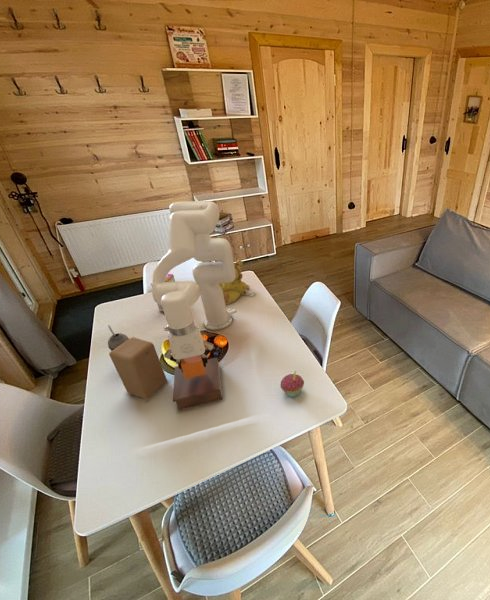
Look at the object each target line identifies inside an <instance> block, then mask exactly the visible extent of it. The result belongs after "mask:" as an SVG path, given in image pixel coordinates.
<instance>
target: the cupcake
mask: <svg viewBox="0 0 490 600" xmlns="http://www.w3.org/2000/svg"><path fill="white" fill-rule="evenodd" d="M279 385H280V388H281V390H282V391H283V392H284V393H285V394H286V395H287V396H289V397H296V396H298V395H299V394H300V393H301V392H300V391H301V390H302V389H303V387H304V385H305V381H304V379H303V377H302V376H301V375H299V374H297V370H294V371H293V373H289V374H288V375H285V376H284V377H283V378H282V379H281V381H280V384H279Z"/></svg>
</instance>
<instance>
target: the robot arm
mask: <svg viewBox="0 0 490 600" xmlns="http://www.w3.org/2000/svg"><path fill="white" fill-rule="evenodd" d="M169 214H170V215H169V218H168V243H167V244H168V246H167V247H168V248H167V249H168V250H167V253H166V254H164V256H163V257H162V258H161V259H160V260H159V261H158V263H157V264H156V266H155V267H154V270H153V272H152V281H151V283H152V285H151V293H152V294H151V295H152V298H153V301H154V302H155V303H156V304H157V303H158V304H160V305H162V308H163V311H164V312H163V313H164V316H165V320H166V322H167V326H164V327H163V329H164V331H165V332H168V343H169V348H168V349H167V350H166V351H165V352H164V354H163V358H165V359H167V360H169V361H172V362H174V363H175V364H177V366H179V369H181V370H182V367H181V359H183V358H188V357H193V356H198V355H201V356H202V361H203V364H204V367H206V363H208V355H209V354H210V353H211V351H212V350H213V349H214V348H215V345H214V343H212V342H209V341H207V340H204V338H203V335H202V333H201V331H200V329H199V327H198V326H197V324H195V321H194V317H193V314H192V310H191V307H192V306H193V305H195V304H196V303H197V301H198V300H199V298H201V299H200V300H201V302H202V306H203V310H204V314H205V319H204V321H203V325H204V327H205V328H206V329H207V330H210V331H219V330H222V329H225V328H227V327H228V326H230V325H231V324H232V321H233V317H232V315H234V314H236V313H237V312H238V310H237V309H236V308H233V309H232V308H228V309H227V304H225V300H224V296H223V291H222V288H221V287H220V285H219V284H218V283H230V282H233V281H234V280H235V277H236V272H235V266H234V263H235V260H234V255H233V251H232V246H231V243H230V242H229V240H227V239H226V238H225V237H224V238H223V237H218V238H217V237H216V238H215V237H213V238H212V237H211V234H213V232H214V231H215V229H216V227H217V224H218V223H219V220H220V209H219V206H218V205H217V203H216V202H214V201H211V200H198V201H197V200H196V201H194V200H193V201H192V200H190V201H189V200H187V201H186V200H185V201H175V202H172V203H171V204H170V205H169ZM191 259H194V260H195V261H197V262H199V263H197V264H195V265H193V268H192V277H193V279H194V281H193V280H185V281H175V282H165V278H166V276H167V274H170V272H171V270H173V269H174V268H176V267H177V266H179V265H181V264H184V263H185V262H187V261H190V260H191ZM158 304H157V305H158ZM182 372H183V370H182Z"/></svg>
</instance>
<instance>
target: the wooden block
mask: <svg viewBox="0 0 490 600" xmlns="http://www.w3.org/2000/svg"><path fill="white" fill-rule="evenodd" d="M108 355H109V357H110V360H111V361H112V363H113V365H114V367H115V369H116V372H117V374H118V376H119V378H120V380H121V382H122V384H123V386H124V389H125V390H126V392H127V394H129V395H133V396H135V397H138V398H142V399H144V400H148V399H150V398H151V397H152V396H153V395H154V394H155V393H157V392H158V391H159V390H160V389H161V388H162V387H163V386H164V385H165V384H167V382H168V378H167V376H166V374H165V371H164V368H163V366H162V363H161V360H160V358H159V356H158V353H157V350H156V348H155V345H154V343H152V341H148V340H144V339H141V338H139V337H138V338H137V337H135V336H132V337H129V339H128V340H127V341H126V342H124V343H123V344H121V345H120V346H118V347H117V348H115V349H114V350H112V351H111V350H110V352H109V354H108Z"/></svg>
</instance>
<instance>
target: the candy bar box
mask: <svg viewBox="0 0 490 600" xmlns="http://www.w3.org/2000/svg"><path fill="white" fill-rule="evenodd" d="M165 282H176V279H175V276H174V273H173V274H172V273H168V274H167V276H166V278H165ZM150 286H152V282H151V283H150ZM156 304H157V307H158V310H159V312H160V313H164V311H163V308H162V305H160V304H158V303H156Z"/></svg>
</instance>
